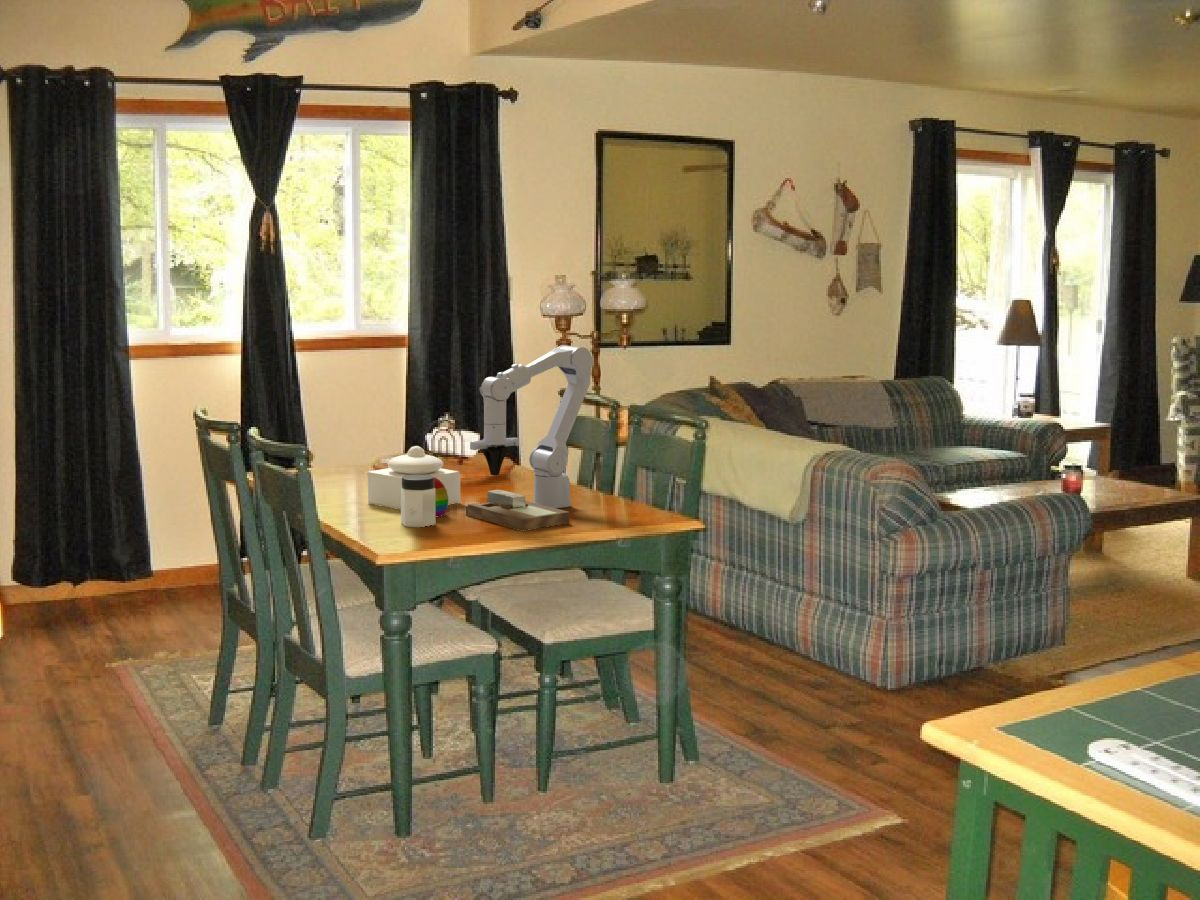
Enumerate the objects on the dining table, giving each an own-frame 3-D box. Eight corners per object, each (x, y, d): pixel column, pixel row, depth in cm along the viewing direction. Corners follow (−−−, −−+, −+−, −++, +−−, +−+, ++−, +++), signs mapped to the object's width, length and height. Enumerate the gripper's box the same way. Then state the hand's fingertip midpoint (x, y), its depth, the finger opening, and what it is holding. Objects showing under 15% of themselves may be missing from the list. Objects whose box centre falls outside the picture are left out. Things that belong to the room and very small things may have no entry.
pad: (531, 507, 342) (531, 506, 342) (557, 513, 335) (557, 512, 335) (509, 510, 338) (509, 509, 338) (535, 517, 330) (535, 516, 330)
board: (511, 508, 356) (511, 494, 355) (569, 523, 338) (569, 508, 337) (465, 515, 346) (465, 500, 345) (522, 531, 328) (522, 516, 327)
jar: (395, 526, 330) (395, 479, 329) (405, 519, 338) (405, 473, 337) (430, 528, 329) (430, 480, 327) (439, 521, 337) (439, 475, 335)
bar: (499, 500, 350) (499, 489, 350) (525, 507, 342) (525, 496, 341) (487, 502, 347) (487, 491, 347) (512, 509, 339) (512, 497, 339)
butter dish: (414, 513, 348) (413, 453, 345) (366, 504, 358) (366, 445, 356) (460, 503, 361) (460, 446, 359) (413, 495, 372) (413, 438, 370)
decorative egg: (413, 512, 347) (413, 475, 346) (444, 511, 350) (444, 473, 348) (420, 519, 340) (419, 480, 338) (451, 517, 342) (451, 479, 341)
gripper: (508, 419, 353) (507, 470, 355) (463, 423, 343) (463, 475, 345) (524, 422, 348) (523, 473, 350) (479, 426, 338) (479, 479, 340)
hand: (494, 474), depth 347 cm, fingers closed
